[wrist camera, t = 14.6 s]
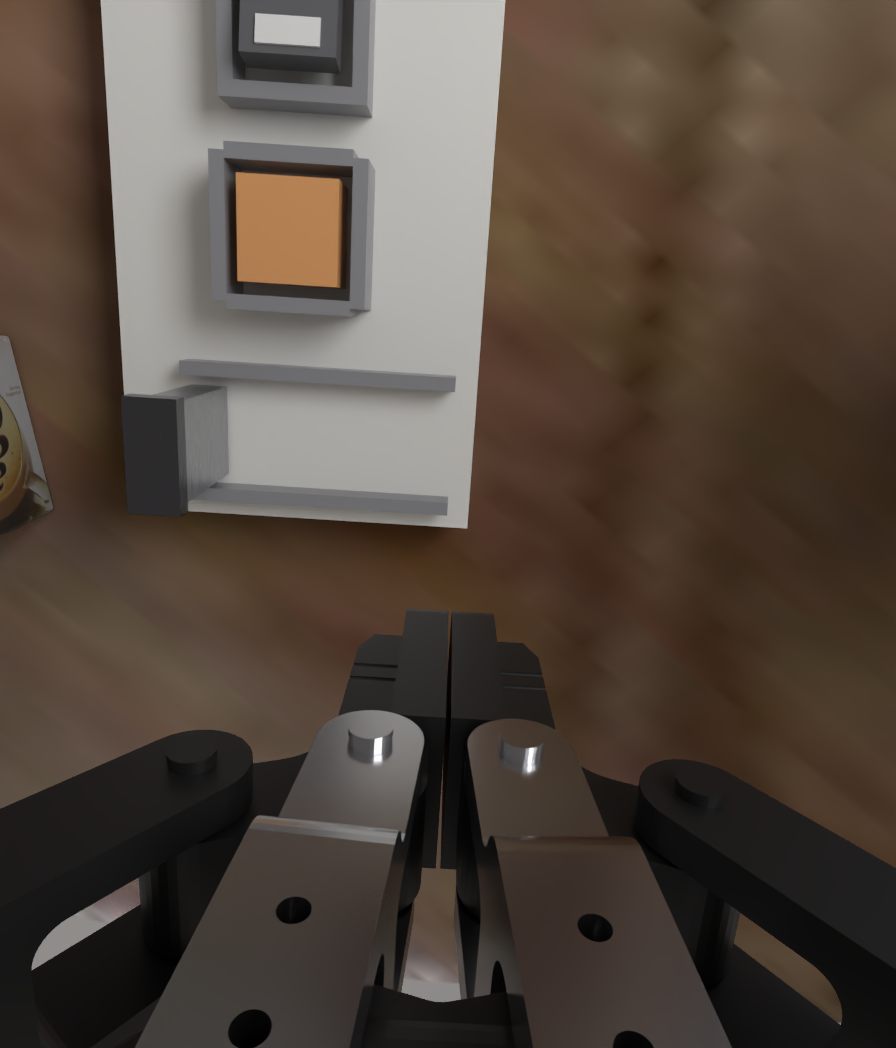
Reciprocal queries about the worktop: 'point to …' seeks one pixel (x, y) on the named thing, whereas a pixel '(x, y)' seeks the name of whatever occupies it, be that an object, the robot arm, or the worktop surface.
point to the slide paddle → (173, 447)
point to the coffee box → (18, 452)
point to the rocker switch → (291, 34)
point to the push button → (291, 230)
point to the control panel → (371, 262)
